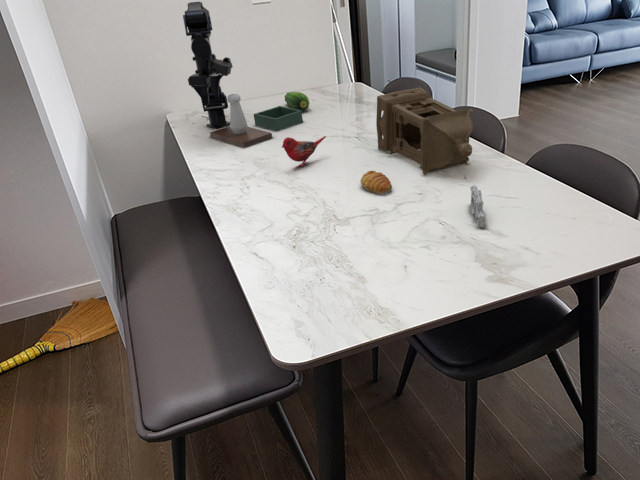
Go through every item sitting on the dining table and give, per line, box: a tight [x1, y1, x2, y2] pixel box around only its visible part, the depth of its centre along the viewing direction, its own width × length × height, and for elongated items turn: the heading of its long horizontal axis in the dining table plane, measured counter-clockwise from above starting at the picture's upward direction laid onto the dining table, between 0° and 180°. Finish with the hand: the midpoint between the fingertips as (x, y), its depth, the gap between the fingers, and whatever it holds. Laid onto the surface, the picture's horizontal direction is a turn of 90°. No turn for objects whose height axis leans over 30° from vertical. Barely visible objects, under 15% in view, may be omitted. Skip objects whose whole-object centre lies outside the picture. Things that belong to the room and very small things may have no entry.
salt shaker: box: [226, 93, 248, 134], centre depth 183 cm, size 6×6×13 cm
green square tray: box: [252, 105, 304, 132], centre depth 197 cm, size 13×13×4 cm
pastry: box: [359, 170, 393, 195], centre depth 141 cm, size 9×7×4 cm
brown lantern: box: [375, 86, 474, 176], centre depth 152 cm, size 35×18×18 cm, turn 26°
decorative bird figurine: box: [281, 135, 327, 168], centre depth 158 cm, size 3×18×10 cm, turn 137°
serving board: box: [209, 125, 273, 149], centre depth 187 cm, size 20×12×2 cm, turn 46°
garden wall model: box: [469, 184, 486, 228], centre depth 123 cm, size 12×2×6 cm, turn 178°
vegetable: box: [284, 91, 310, 112], centre depth 214 cm, size 7×7×20 cm
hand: (212, 100), depth 182 cm, fingers open, 9 cm apart
